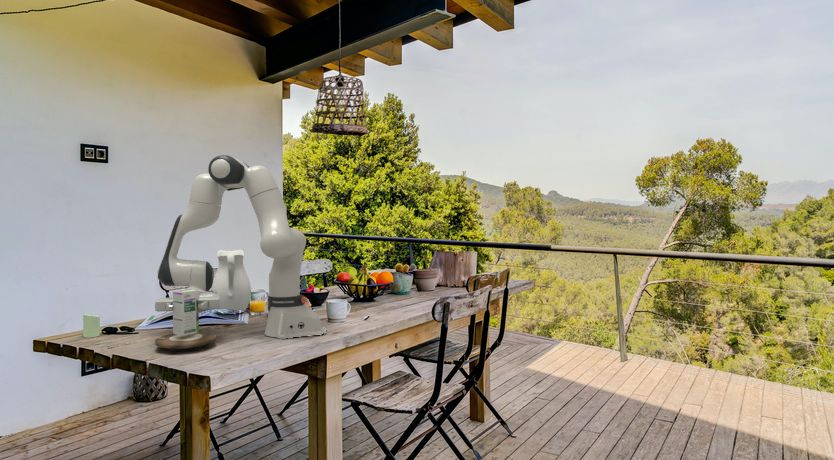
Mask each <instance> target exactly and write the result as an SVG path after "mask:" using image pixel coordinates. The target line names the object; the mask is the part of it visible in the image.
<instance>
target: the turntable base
mask: <svg viewBox="0 0 834 460" xmlns="http://www.w3.org/2000/svg"><path fill="white" fill-rule="evenodd" d="M203 346H204V345H201V346H196V347H188V348H168V350H170V351H173V352H188V351H189V352H190V351H194V350H199V349H201V348H202V347H203Z"/></svg>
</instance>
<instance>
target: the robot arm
mask: <svg viewBox="0 0 834 460" xmlns="http://www.w3.org/2000/svg"><path fill="white" fill-rule="evenodd" d="M207 170H208V173H201V174H198V175H197V176H196V177H194V180H193V183H192V186H191V190H190V193H189V194H190V195H189V200H188V206H187V208H186V210H185V212H183V214H182V213H181V214H180V215H178V216H177V218H176V220H175V221H174V223H173V227H172V230H171V233H170V236H169V238H168V242H167V245H166V248H165V250H164V251H165V252H164V254H163V257H162V260H161V262H160V264H159V266H158V269H157V280H159V282H160V283H161V284H162V285H164V286H166V287H169V286H170V287H176V286H181V287H186V288H185V289H197V290H198V291H199V304H198V307H199V308H198V310H199V313H200V312H206V311H212V310H215V309H219V308H220V296H219V295H218V294H217V291H211V288H212V284H213V280H214V277H215V273H214V267H213V266H212V264H211V263H210V261H206V260H199V259H198V260H197V259H196V260H195V259H192V260H191V259H182V258H179V257H178V254H179V250H180V247H181V244H182V241H183V238H184V236H185V235H186V234H188V233H189V232H192V231H196V230H200V229H204V228H208V227H210V226H212V225H214V224H215V223H216V222H217V221H218V220H219V219H220V214H221V209H222V203H223V202H222V201H223V195H224V194H225V191H228V192H229V191H235V190H240V189H244V190H245V191H246V193H247V196H248V198H249V201H250V203H251V206H252V208H253V210H254V213H255V217H256V219H257V221H258V226H259V232H260V242H259V244H260V245H259V246H260V249H261V252H262V253H263V254H264V255H265V256H266V257H268V258H271V259H273V261H272V265H271V269H270V271H269V274H268V296H267V304H266V305H267V307H266V308H267V311H268V313H267V320H266V326H265V329H264V336H267V337H270V338H271V337H272V338H278V339H280V340H281V339H282V340H285V339H286V338H288V339H294V338H293V337H299V338H302V337H301V336H308V335H316V334H322V333H324V332H326V330H327V327H326V326H324V325H322V321H321V318H320V316H319V314H318V312H316V311H314V309H312V308H311V307H309V306H308V305H306V303H307V297H306V296H305V295H302V294H300V292H301V286H300V285H301V283H300V282H301V269H302V263H303V258H304V251H305V248H306V244H307V239H306V235H305V234H304V233H303V232H302V231H301V230H299V229H298V228H294V227H290V226H289V221H288V216H287V211H288V209H287V205H286V204H285V201H284V199H283V196H282V194H281V191H280V189H279V186H278V185H277V182H276V180H275V178H274V177H273V175H272V173H271V172H270V170H269V169H268V168H267V167H266V166H264V165H253V166H251V167H250V166H249V165H248V164H247V163H246V162H243V161H241V160H240V159H239V158H237V157H233V156H230V155H228V154H227V155H225V154H220V155H217V156H214V157H213V158H212V159H211V161H210V162H209V164H208V167H207ZM154 310H155V311H156V312H173V297H161V298H159V299H157V300H155V301H154Z"/></svg>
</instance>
